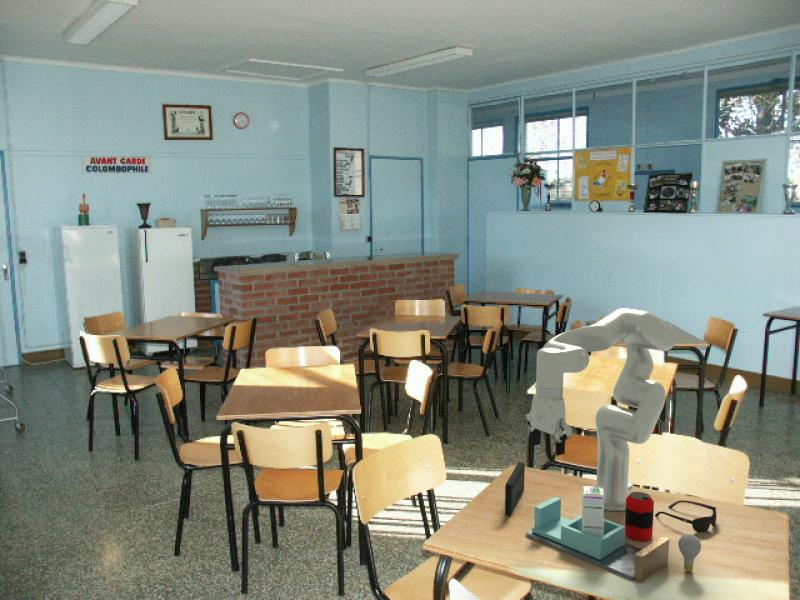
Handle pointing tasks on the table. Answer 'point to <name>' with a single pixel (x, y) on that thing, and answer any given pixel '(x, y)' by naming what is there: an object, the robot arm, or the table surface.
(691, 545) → the light bulb
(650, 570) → the rail
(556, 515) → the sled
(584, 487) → the syrup box
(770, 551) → the table surface
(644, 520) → the soda can
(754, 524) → the table surface
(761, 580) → the table surface
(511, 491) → the nameplate
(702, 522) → the sunglasses
